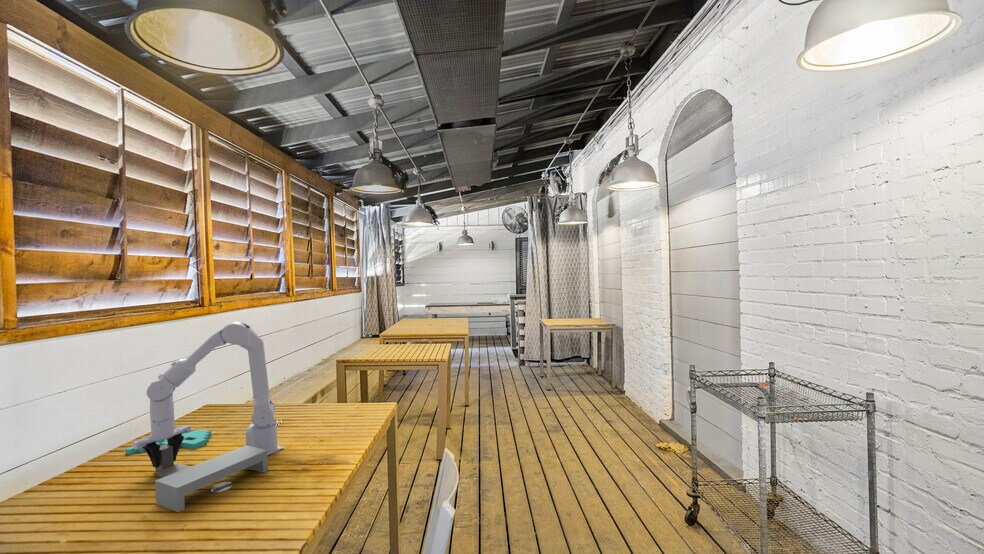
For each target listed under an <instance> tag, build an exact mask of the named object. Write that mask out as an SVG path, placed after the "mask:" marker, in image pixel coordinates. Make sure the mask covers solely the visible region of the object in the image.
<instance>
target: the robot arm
mask: <svg viewBox="0 0 984 554" xmlns="http://www.w3.org/2000/svg"><path fill="white" fill-rule="evenodd" d="M226 344H230V345H236V346H239V347H241V348H243V349H245V350H246V351H247V354H248V356H247V357H248V362H249V371H250V379H251V387H252V395H253V396H252V397H253V413H252V415H251V422H252V423H251V424H249V426H248V427H247V428H246V431H245V446H246V445H247V446H251V447H255V448H260V449H264V450H267V454H268V456H269V455H272V454H273V453H276V452H278V451H281V450H282V449H284V446H281V445H278V428H277V427H278V425H277V424H278V422H277V421H276V420H277V419H276V418H275V412H276V406H275V404H274V403H273V402H272V396H271V394H270V387H269V378H268V377H269V376H268V371H267V370H268V369H267V362H266V353H265V352H266V351H265V345H264V341H263V338H262V337H260V336H259V335H258V334H257V332H255V331H254V329H252V327H251V325H249V324H246V322H243V321H239V320H238V321H237V320H236V321H233V322H231V323H229V324H227V325H225V326H224V327H223V328H222V329H220V330H218V331H217V332H215V333H214V334H212V335H211V336H210V337H208V338H207V339H206V340H205V341H204V342H203V343H202V344H201V345H200V346H199V347H198V348H197V349H196V350H195V351H194V352H193V353H192V354H191V355H190V356H188V357H187V358H181V359H179V360H175V361H173V362H171V364H170V365H171V367H170V368H168V369H167V370H166V371H165V372H163V373H160V374H159V375H158V376H157V378H158V379H157V380H155V381H153V382H151V383H150V384H149V386H148V388H147V389H146V396H147V397H148V399H149V417H150V418H149V420H150V435H147V436H145V437H143V438H140V439H137V440H134V441H132V446H133V449H139V448H141V447H143V449H144V450H145V452H146V454H147V455H148V458H149V460H150V462H151V465H152V467H153V468H154V469H155V468H157V467H159V450H160V445H157V444H156V442H159V441H162V440H165V439H167V442H168V445H170V446H173V459H174V462H176V461H177V456H178V453H179V451H178V450H180V448H181V447H180V445H181V443H182V441H183V440H184V436H182V434H184V433H189V432H191V431H192V426H191V425H186V424H185V425H184V426H180V427H179V426H178V427H175V426H176V425H175V423H176V422H175V405H174V404H175V403H174V394H173V393H174V392H175V390H176V389H177V388H179V386H181V385H182V384H183V383H185V381H186V380H187V379H189V378H190V376H192V375H193V374H194V373H195V372H196V370H197V369H196V366H197V364H198V363H200V362H201V361H202V360H203V359H204V358H206V357H207V355H209V354H210V353H211V352H212V351H213V350H215V348H217V347H222V346H225V345H226ZM179 447H180V448H179Z"/></svg>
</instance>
